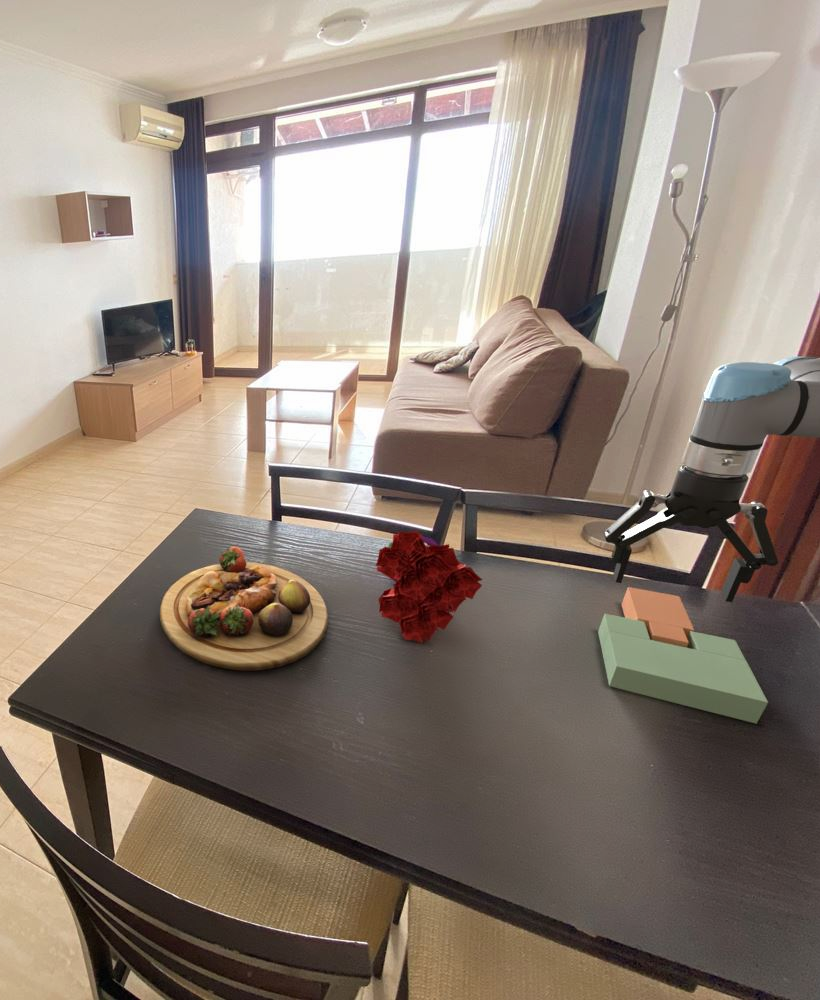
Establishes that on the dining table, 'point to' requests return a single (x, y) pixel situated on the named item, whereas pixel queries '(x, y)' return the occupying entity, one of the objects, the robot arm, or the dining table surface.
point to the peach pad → (659, 615)
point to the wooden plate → (243, 614)
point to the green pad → (681, 669)
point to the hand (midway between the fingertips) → (669, 587)
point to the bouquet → (423, 584)
